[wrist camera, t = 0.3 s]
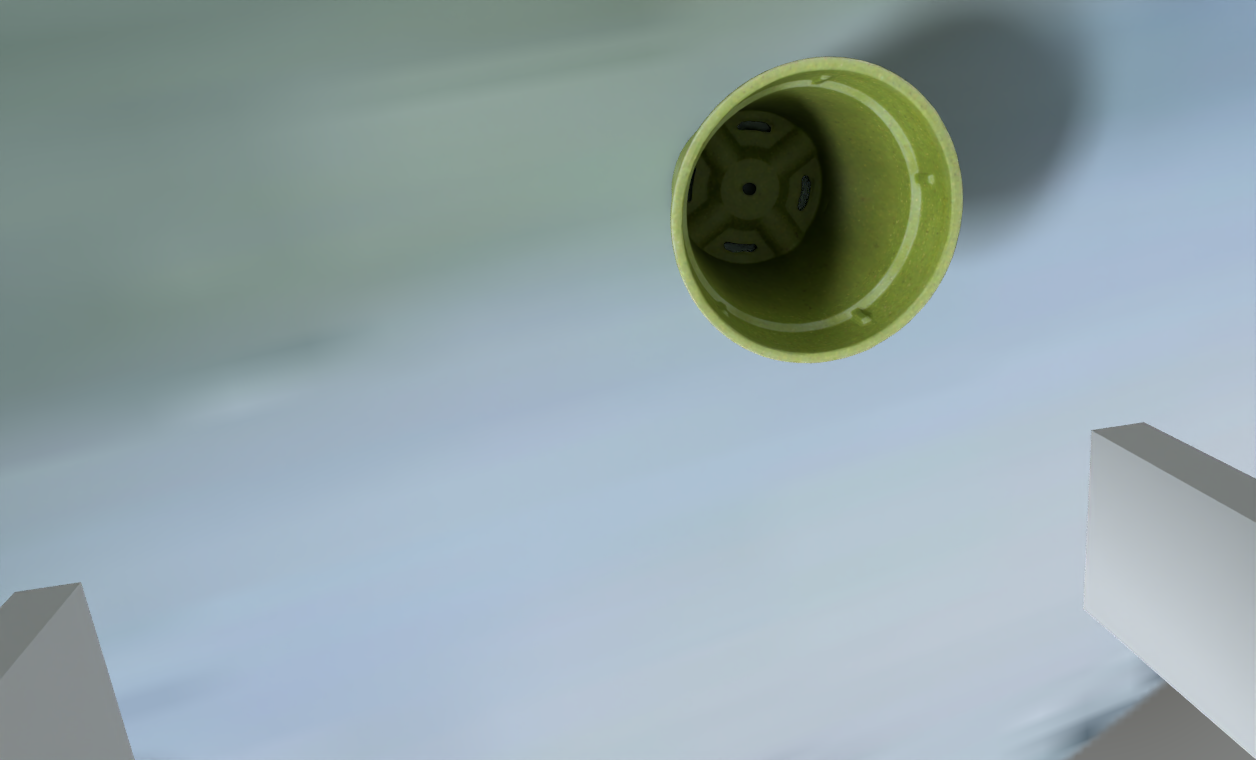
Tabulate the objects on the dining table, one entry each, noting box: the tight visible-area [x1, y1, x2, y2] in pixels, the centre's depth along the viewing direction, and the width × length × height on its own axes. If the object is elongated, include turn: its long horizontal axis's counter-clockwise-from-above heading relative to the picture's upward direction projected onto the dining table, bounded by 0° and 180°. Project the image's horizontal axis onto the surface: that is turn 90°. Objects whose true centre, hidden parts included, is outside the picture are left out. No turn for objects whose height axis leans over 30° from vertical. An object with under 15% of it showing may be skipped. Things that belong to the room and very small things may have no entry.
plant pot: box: [671, 57, 963, 363], centre depth 34 cm, size 9×9×9 cm
